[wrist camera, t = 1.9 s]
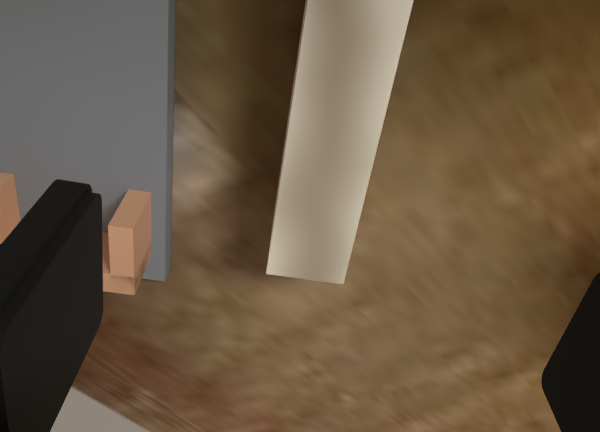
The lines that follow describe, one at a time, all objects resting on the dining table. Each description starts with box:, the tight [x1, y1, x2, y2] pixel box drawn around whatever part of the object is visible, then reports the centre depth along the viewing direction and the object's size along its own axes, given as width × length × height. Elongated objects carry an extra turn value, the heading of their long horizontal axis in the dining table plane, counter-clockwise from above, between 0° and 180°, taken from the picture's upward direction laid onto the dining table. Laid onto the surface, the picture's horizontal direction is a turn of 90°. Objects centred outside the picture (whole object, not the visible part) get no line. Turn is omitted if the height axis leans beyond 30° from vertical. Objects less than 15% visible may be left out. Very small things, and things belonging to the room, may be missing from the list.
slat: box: [266, 0, 414, 284], centre depth 26 cm, size 4×22×5 cm, turn 171°
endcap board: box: [0, 0, 176, 295], centre depth 25 cm, size 10×30×5 cm, turn 172°
